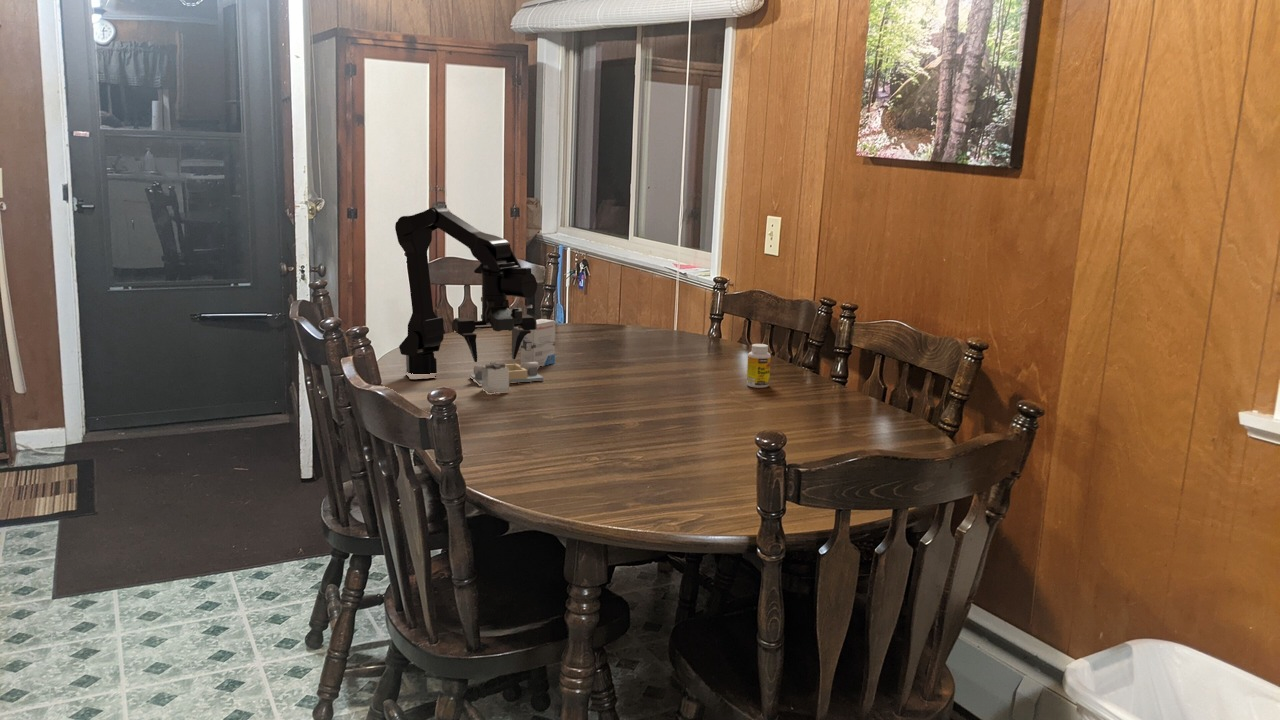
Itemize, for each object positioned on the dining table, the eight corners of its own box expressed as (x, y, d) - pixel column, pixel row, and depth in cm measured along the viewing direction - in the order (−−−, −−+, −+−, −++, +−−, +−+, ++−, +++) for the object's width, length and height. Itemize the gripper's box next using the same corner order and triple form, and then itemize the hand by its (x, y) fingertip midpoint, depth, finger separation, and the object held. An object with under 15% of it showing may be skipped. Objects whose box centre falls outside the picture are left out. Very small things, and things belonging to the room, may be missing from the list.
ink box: (542, 361, 268) (542, 318, 266) (556, 363, 265) (556, 320, 263) (519, 366, 261) (519, 322, 259) (534, 369, 258) (534, 324, 256)
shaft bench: (480, 386, 239) (479, 370, 238) (469, 378, 247) (469, 362, 246) (543, 381, 245) (543, 365, 244) (531, 373, 253) (531, 358, 252)
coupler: (488, 395, 231) (487, 367, 230) (482, 390, 235) (481, 363, 234) (509, 393, 233) (508, 365, 232) (502, 388, 237) (502, 361, 236)
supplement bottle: (756, 389, 242) (758, 348, 240) (741, 384, 247) (743, 344, 245) (773, 386, 245) (776, 346, 243) (759, 382, 250) (761, 342, 248)
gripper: (464, 301, 218) (465, 370, 222) (544, 297, 226) (544, 364, 229) (451, 293, 228) (452, 360, 231) (528, 290, 236) (528, 355, 239)
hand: (494, 360), depth 233 cm, fingers open, 9 cm apart
